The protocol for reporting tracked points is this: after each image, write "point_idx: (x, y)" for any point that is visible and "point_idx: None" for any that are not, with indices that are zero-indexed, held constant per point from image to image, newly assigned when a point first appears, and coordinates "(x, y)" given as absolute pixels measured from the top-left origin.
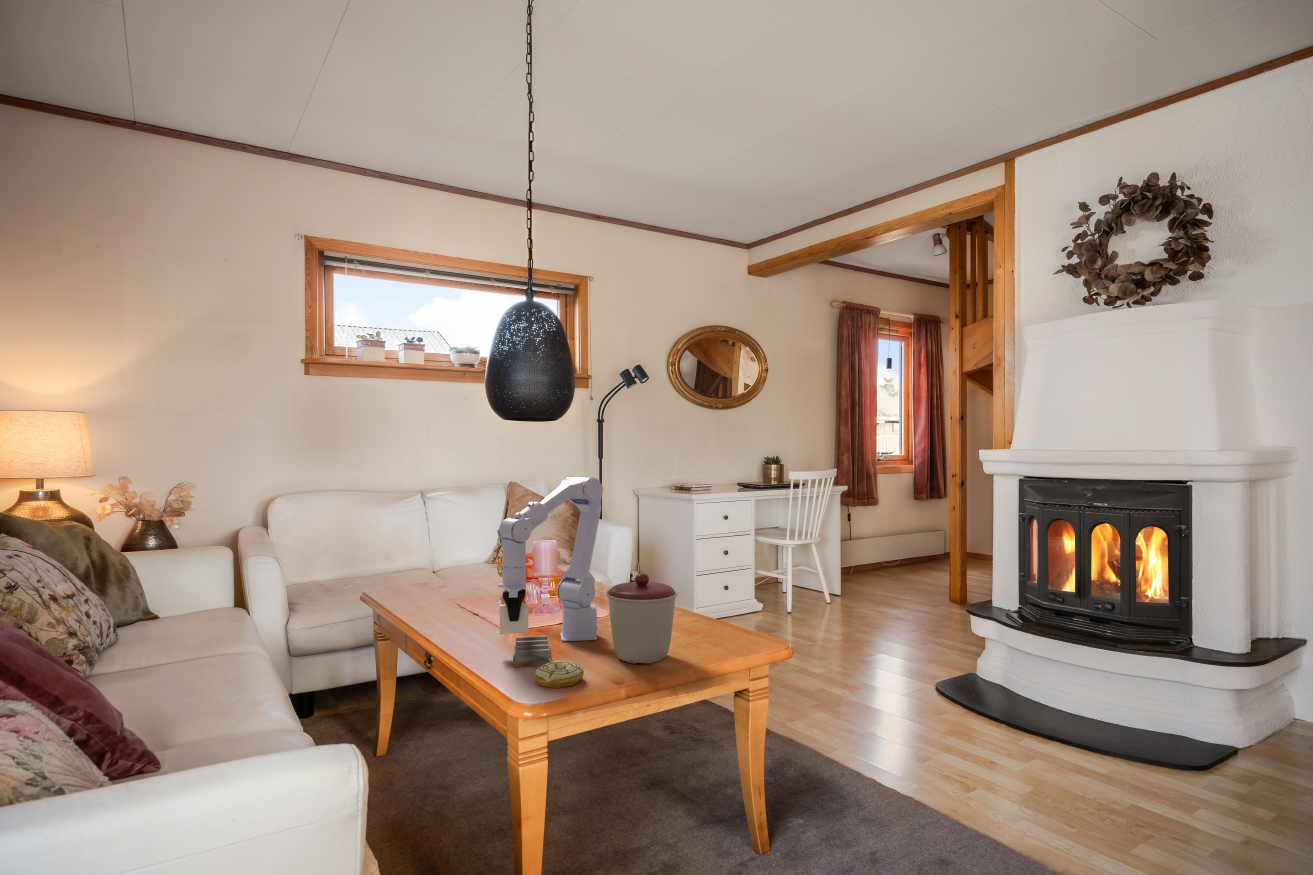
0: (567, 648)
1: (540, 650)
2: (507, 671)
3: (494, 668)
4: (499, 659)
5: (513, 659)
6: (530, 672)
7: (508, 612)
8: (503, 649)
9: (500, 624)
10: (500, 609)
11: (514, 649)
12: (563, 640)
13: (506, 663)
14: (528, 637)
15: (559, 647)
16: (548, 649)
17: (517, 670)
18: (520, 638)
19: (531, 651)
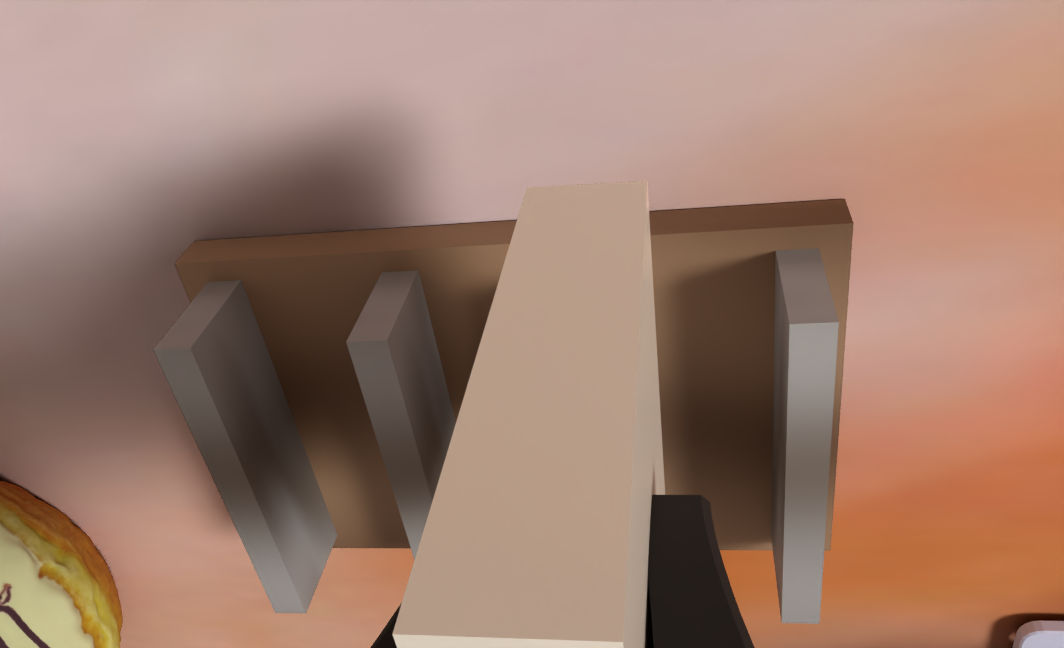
0: (781, 634)
1: (252, 556)
2: (55, 202)
3: (108, 54)
4: (446, 66)
5: (293, 259)
6: (89, 388)
7: (377, 640)
8: (903, 60)
9: (501, 292)
10: (427, 548)
11: (686, 241)
12: (1017, 636)
13: (303, 165)
14: (786, 458)
15: (830, 588)
16: (294, 609)
17: (110, 287)
18: (785, 369)
19: (223, 485)
